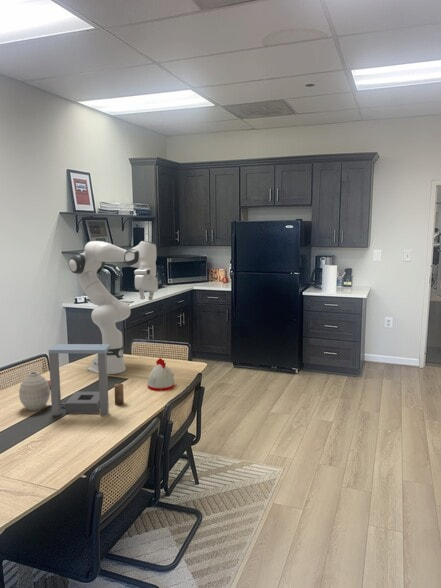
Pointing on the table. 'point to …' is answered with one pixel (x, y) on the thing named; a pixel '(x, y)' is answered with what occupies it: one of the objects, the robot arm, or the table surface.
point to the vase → (34, 391)
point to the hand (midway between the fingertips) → (146, 299)
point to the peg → (119, 394)
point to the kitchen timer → (161, 377)
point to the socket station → (80, 400)
